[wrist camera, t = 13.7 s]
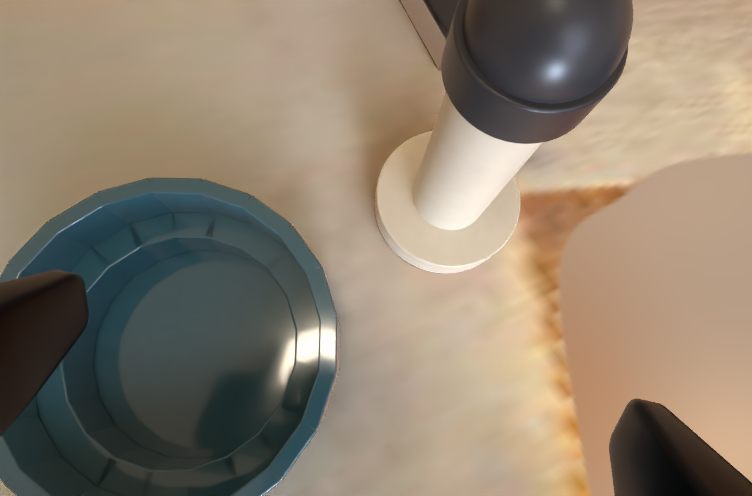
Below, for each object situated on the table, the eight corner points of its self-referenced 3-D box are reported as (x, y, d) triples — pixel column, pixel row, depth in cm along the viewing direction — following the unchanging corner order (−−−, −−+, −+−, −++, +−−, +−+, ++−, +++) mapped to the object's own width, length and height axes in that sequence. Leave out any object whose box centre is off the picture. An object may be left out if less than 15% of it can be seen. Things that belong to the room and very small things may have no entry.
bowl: (375, 442, 20) (383, 466, 15) (89, 543, 19) (-3, 604, 14) (298, 189, 23) (284, 140, 18) (40, 262, 21) (-52, 231, 16)
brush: (516, 272, 22) (779, 121, 9) (376, 275, 22) (417, 122, 8) (503, 143, 24) (709, -160, 10) (372, 143, 23) (402, -170, 10)
